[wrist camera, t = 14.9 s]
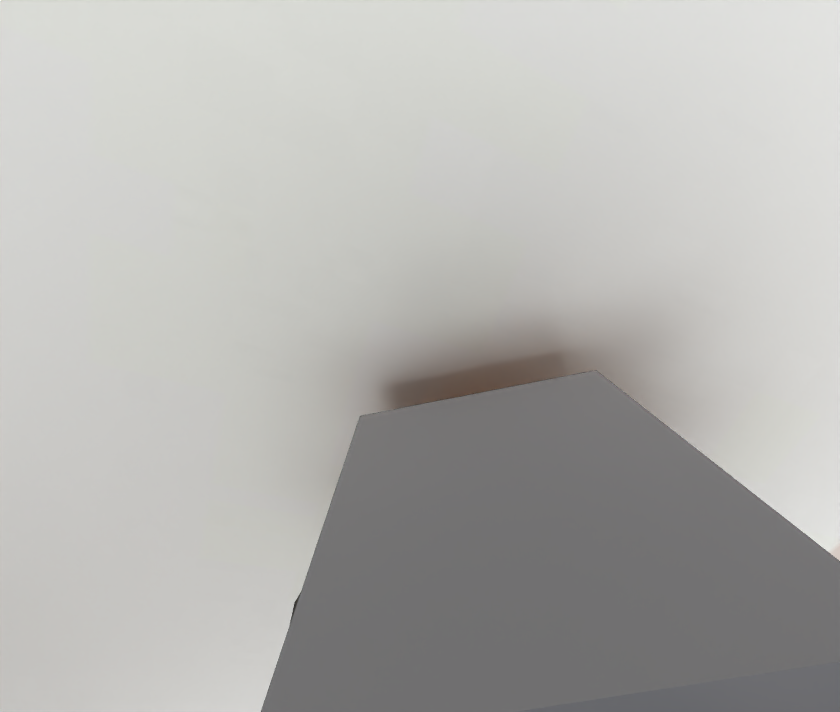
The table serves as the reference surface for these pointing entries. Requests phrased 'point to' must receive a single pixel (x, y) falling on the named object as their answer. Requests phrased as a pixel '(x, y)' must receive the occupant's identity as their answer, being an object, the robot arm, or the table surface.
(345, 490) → the grey block
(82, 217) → the table surface
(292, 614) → the robot arm
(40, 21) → the table surface
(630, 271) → the table surface
